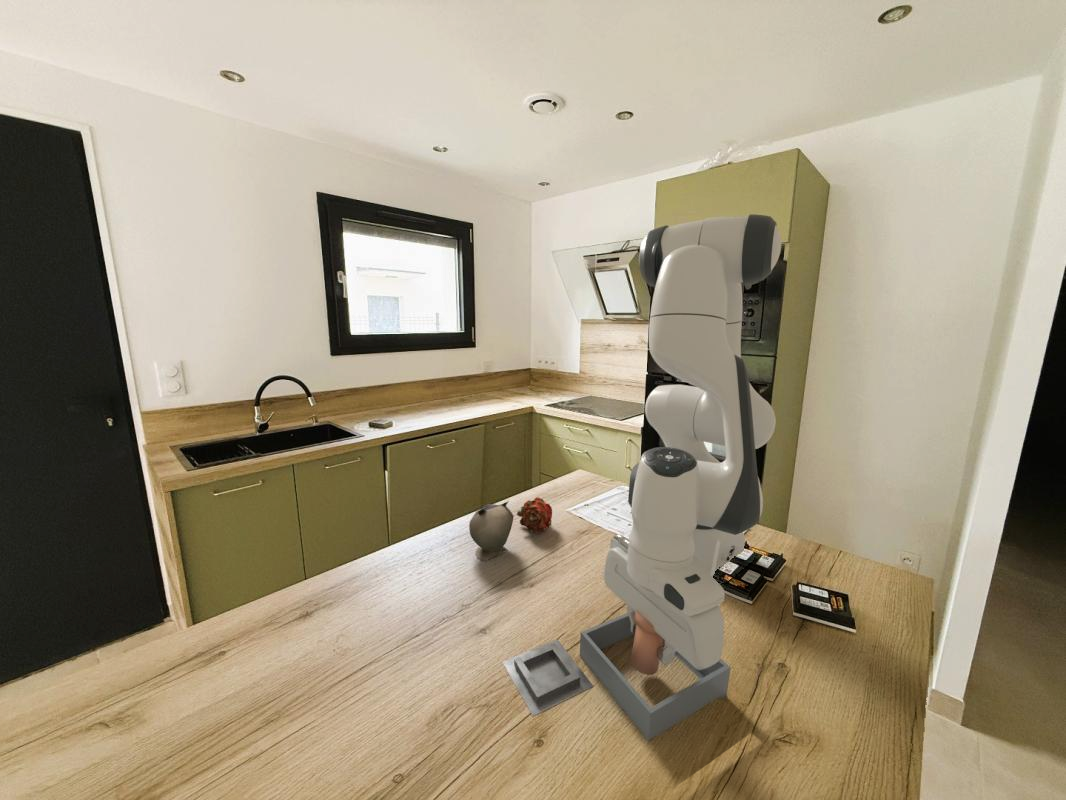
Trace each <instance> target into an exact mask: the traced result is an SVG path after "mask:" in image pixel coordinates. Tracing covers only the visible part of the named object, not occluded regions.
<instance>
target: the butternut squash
mask: <svg viewBox="0 0 1066 800" xmlns="http://www.w3.org/2000/svg"><path fill="white" fill-rule="evenodd" d="M635 622H636V624H637V625H636V631H635V635H634V638H633V645H632V650H631V656H630V663H631V665H632V667H633V668H634V669H635V670H636V671H637V672H639V673H640V674H644V675H647V676H650V675H651V676H652V675H655V674H656V673H657V672H658V670H659V667H660V662H661V661H660V660H659V659H658V657H657V655H658V649H659V648H661V647H663V645H664V644H663V638H662V637H661V636H660V635H659V634H658V633H657V632H655V630H654V626H653V625H652V624H651V623H650V622H649V621H647V620H646V619H645V618H644V617H643V616H642V615H641V614H640V613H639V612H638V611H637V610H636V613H635Z"/></svg>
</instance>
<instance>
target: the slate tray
mask: <svg viewBox="0 0 1066 800" xmlns="http://www.w3.org/2000/svg"><path fill="white" fill-rule="evenodd" d="M632 636H635V635H634V634H633V633H632V632H631V622H630V618H629V615H628V612H626V613H623V614H621V615H619V616H617V617H615V618H612V619H610V620H606V621H605V622H602V623H600V624H598V625H594V626H593V627H590V628H588V629H585V630H583V631H580V639H579V641H580V642H579V657H580V658H581V659H582V660H583V661H584V663H585V665H586V666H587V667H588V668H589V669H590V671H592V673H593V674H594V675H595V677H596V678H597V679H598V681H599V682H600V684H602V685H603V687H604V688H605V689H606V690H607V692H608V693H609V694H610V695H611V697H612V698H613V699H614V701H615V702H616V703H617V704H618V705H619V707H620V708H621V709H622V710H623V712H624V713H625V714H626V716H627V717H628V718H629V719H630V721H631V722H632V723H633V724H634V726H635V727H636V728H637V730H639V731H640V733H641V735H643V737H644V738H645V739H646V741H648V742H649V741H650V740H652V739H654V738H655V737H657V736H659V735H661V734H662V733H663V732H665V731H666V730H669V729H670V728H672V727H673V726H675V725H676V724H679V723H680V722H681V721H683V720H685V719H686V718H688V717H689V716H691V715H693V714H694V713H696V712H697V711H699V710H701V709H702V708H704V707H706V706H707V705H709V704H710V703H712V702H713V701H716V700H717V699H719V698H720V699H722V700H724V699H725V698H727V695H728V688H729V683H730V674H731V669H732V668H731V666H730V665H729V664H728V663H727V662H725V661H724V660H723V659H721V658H720V660H719V661H718V662H717V663H715V664H714V665H712V666H710V667H708V668H705V669H702V670H697V669H696V668H694V667H693V666H692V665H691V664H690V663H689V662H688V661H687V660H686V659H685V658H684V657H683V656H681V655H680V654H679V653H678V652H677V651H676V652H675V654H674V657H677V658H678V660H679V661H680V662H681V663H683V664H684V665H685V666H686V667H687V668H688V669H689V670H691V672H693V673H694V675H696V676H697V677H698V678H699V679H698V680H695V682H693V683H692V684H689V685H688V686H686V687H685V688H682V689H681V690H679V691H678V692H676V693H674V694H671V695H670V696H669V697H667V698H664V699H663V700H661V701H660V702H658V703H656V704H654V705H653V706H650V705H649V703H648V702H647V701H645V699H644V698H643V697H642V695H641V694H639V692H638V691H637V689H635V688H634V686H633V685H632V684H631V683H630V682H629V681H628V679H627V678H625V676H624V675H623V674H622V673H621V672H620V670H618V668H617V667H616V666H615V665H614V664H613V662H612V661H611V660H610V659H609V658H608V657H607V656H606V655H605V653H604V652H603V651H602V649H606V648H607V647H610V646H613V645H614V644H616V643H618V642H621V641H623V640H626V639H628V638H630V637H632ZM663 645H664V646H665V640H664V639H663Z"/></svg>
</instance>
